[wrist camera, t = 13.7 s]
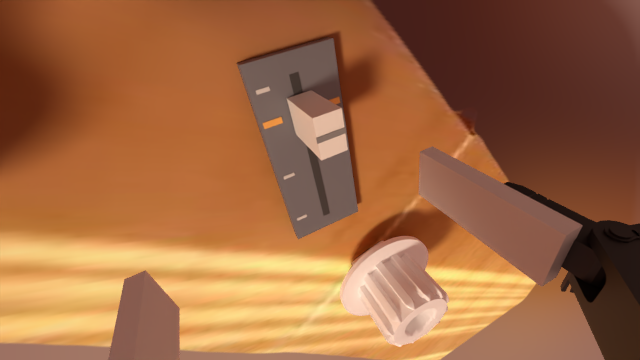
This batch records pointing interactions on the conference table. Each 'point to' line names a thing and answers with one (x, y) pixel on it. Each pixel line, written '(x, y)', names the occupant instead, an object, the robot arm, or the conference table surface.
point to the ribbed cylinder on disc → (395, 290)
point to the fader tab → (318, 124)
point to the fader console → (286, 147)
